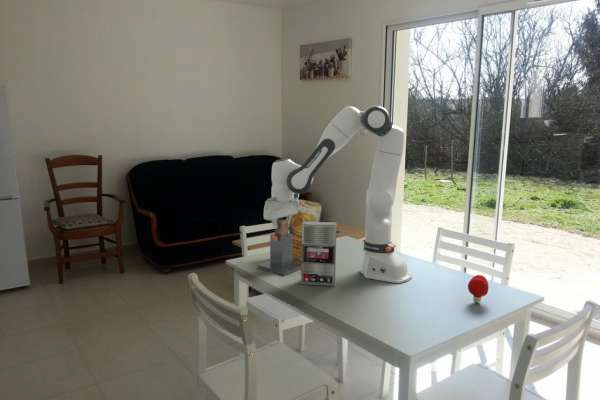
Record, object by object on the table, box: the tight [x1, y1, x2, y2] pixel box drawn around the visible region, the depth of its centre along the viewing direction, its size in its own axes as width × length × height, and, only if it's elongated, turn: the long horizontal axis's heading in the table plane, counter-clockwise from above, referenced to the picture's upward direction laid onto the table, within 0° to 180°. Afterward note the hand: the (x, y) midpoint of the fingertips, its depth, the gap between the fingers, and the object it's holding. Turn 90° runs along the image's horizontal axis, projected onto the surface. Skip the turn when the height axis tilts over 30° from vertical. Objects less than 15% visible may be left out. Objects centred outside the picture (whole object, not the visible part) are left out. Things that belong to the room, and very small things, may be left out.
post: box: [274, 218, 289, 236], centre depth 205 cm, size 4×4×20 cm
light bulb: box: [467, 274, 489, 304], centre depth 170 cm, size 9×7×10 cm
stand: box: [257, 232, 301, 277], centre depth 206 cm, size 16×14×16 cm
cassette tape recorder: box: [300, 221, 338, 287], centre depth 187 cm, size 14×6×25 cm, turn 83°
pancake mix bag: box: [288, 198, 323, 260], centre depth 220 cm, size 7×19×28 cm, turn 48°
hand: (281, 226), depth 204 cm, fingers open, 6 cm apart
